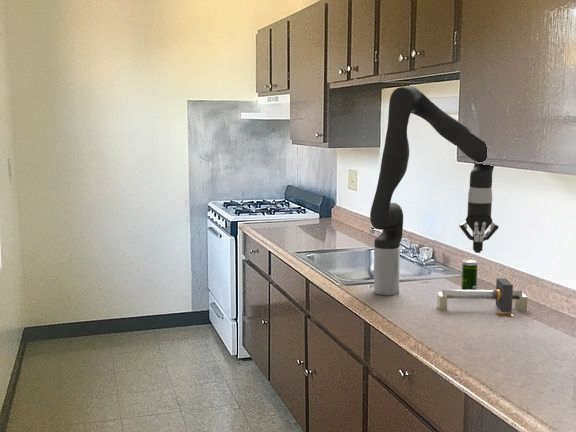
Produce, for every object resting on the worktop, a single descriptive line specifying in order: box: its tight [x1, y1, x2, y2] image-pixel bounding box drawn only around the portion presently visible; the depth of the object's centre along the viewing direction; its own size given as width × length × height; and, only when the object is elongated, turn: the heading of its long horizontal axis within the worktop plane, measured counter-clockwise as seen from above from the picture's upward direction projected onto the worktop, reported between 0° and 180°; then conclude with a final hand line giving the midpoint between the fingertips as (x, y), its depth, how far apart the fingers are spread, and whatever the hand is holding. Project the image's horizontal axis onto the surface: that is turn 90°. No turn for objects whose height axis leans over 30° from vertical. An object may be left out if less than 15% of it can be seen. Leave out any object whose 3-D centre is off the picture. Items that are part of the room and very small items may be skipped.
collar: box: [495, 277, 514, 313], centre depth 216 cm, size 3×9×9 cm, turn 176°
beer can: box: [461, 259, 478, 290], centre depth 236 cm, size 5×5×12 cm
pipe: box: [436, 289, 528, 318], centre depth 214 cm, size 28×11×7 cm, turn 86°
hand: (477, 252), depth 215 cm, fingers closed
